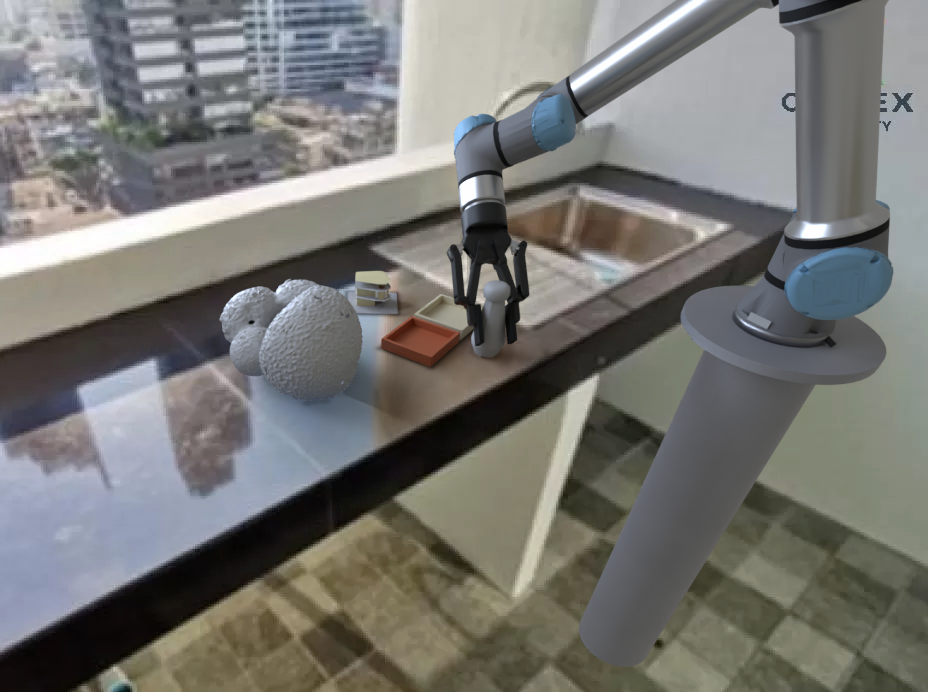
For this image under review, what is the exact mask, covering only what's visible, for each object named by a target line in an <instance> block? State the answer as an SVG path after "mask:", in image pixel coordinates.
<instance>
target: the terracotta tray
mask: <svg viewBox="0 0 928 692" xmlns="http://www.w3.org/2000/svg"><path fill="white" fill-rule="evenodd" d="M459 337H460V332H457V331H454V330H452V329H449V328H446V327H443V326H440V325H437V324H434V323H431V322H428V321H425V320H422V319H419V318H417V317H414V315H410V317H408V318H407V319H406V320H404V321H402V323H400V324H399V325H398V326H396V327H394V328H393V329H392V330H390V332H388V333H387V334H386V335H385V336H383V337H382V338H381V340H380V341H381V342H380V349H381V350H385V351H386V352H387V351H388V352H389V353H393V354H395V355H398V356H400V357H403V358H406V359H408V360H410V361H413V362H416V363H418V364H422V365H424V366H426V367H429V368H431V367H432V366H434V364H436V363H437V362H438V361H439V360H440V359H442V357H444V356H445V355H446V354H447V353H448V352H449V351H451V350H452V349H453V347H455V346H456V345H458V343H459V342H460V339H459Z"/></svg>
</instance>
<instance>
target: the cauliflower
mask: <svg viewBox="0 0 928 692" xmlns="http://www.w3.org/2000/svg"><path fill="white" fill-rule="evenodd" d="M277 287H278V288H276V291H273V290H271V289H270V288H269V287H265V286H255V287H251V288H247V289H244V290H242V291H239V292H237V293H236V294H234V295H233V297H231V298H230V300H229V301H227V303H226V304H225V306H224V307H223V311H222V313H221V314H220V317H219V322H221V326H222V327H221V328H222V329H221V332H222V333H223V336H224V338H225V340H226V341H228V342H229V343H230V346H229V358H230V360H231V363H233V366H234V367H235V368H236V370H237V371H238V372H239V373H240V374H243V375H245V376H248V377H253V378H254V377H261V376H264V378H265V380H266V382H268V384H269V385H271V386H272V388H274V389H275V391H278V392H279V393H280V394H283V395H284V396H286V397H288V398H291V399H294V400H299V401H305V402H309V401H321V400H322V401H323V400H329V399H332V398H334V397H336V396H338V395H340V394H341V393H343V392H345V390H346V389H348V388H349V386H350V385H351V383H352V382H353V380H354V378H355V376H356V373H357V370H358V366H359V361H360V359H361V354H362V349H363V348H362V347H363V329H362V325H361V321H360V318H359V315H358V313H356V310H355V309H354V308H353V306H352V305H351V303H350V302H349V300H348V297H346V296H345V295H344V294H343V293H342V292H340V291H339V290H336V288H333V287H330V286H325V285H320V284H318V283H316V282H315V281H312V280H308V279H293V280H292V278H289V279H286V280H285V281H284V283H282V284H280V285H278V286H277Z"/></svg>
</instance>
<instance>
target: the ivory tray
mask: <svg viewBox="0 0 928 692" xmlns="http://www.w3.org/2000/svg"><path fill="white" fill-rule="evenodd" d="M482 308H483V306H482V305H481V311H482ZM413 316H414V317H417V318H419V319H422V320H425V321H428V322H431V323H434V324H437V325H440V326H443V327H446V328H449V329H452V330H454V331H457V332H460V337H459V341H461V340H463V339H464V338H465V337H466V336H468V334H470V333H471V332H472V331H474V329H473V326H469V325H468V323H467V313H466V309H465V308H464V306H462V305H456V304H455V303H454V296H450V295H446V294H443V293H440V294H439V295H437V296H436V297H434V298H433V299H432V300H430V301H429V302H427V304H425V305H424V306H423V307H421V308H420V309H419V310H417V311H416V312H415V313H414V314H413Z"/></svg>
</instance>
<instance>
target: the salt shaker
mask: <svg viewBox="0 0 928 692" xmlns="http://www.w3.org/2000/svg"><path fill="white" fill-rule="evenodd" d="M482 293H483V297H484V299H485V300H484V303H483V306H482V307H483V308H482V311H481V312H482V322H483V333H484V343H483V344H481V345H480V346H475V339H474V330H472V331H473V332H472V334H471V337H470V338H471V339H470V341H471V346H472V349H473V353H474V354H476V355H477V356H479V357H481V358H491V359H492V358H493V357H496V355H498V354H499V353H500V352H501V350H502V349H503V347H504V346H505V344H506V326H505V305H506V301H507V299H508V298H509V296H510V286H509V285H508V284H507V283H506V282H503V281H499V279H497V280H495V279H494V280H490V281H488V282H486V283H485V285H484V287H483V291H482Z"/></svg>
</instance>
